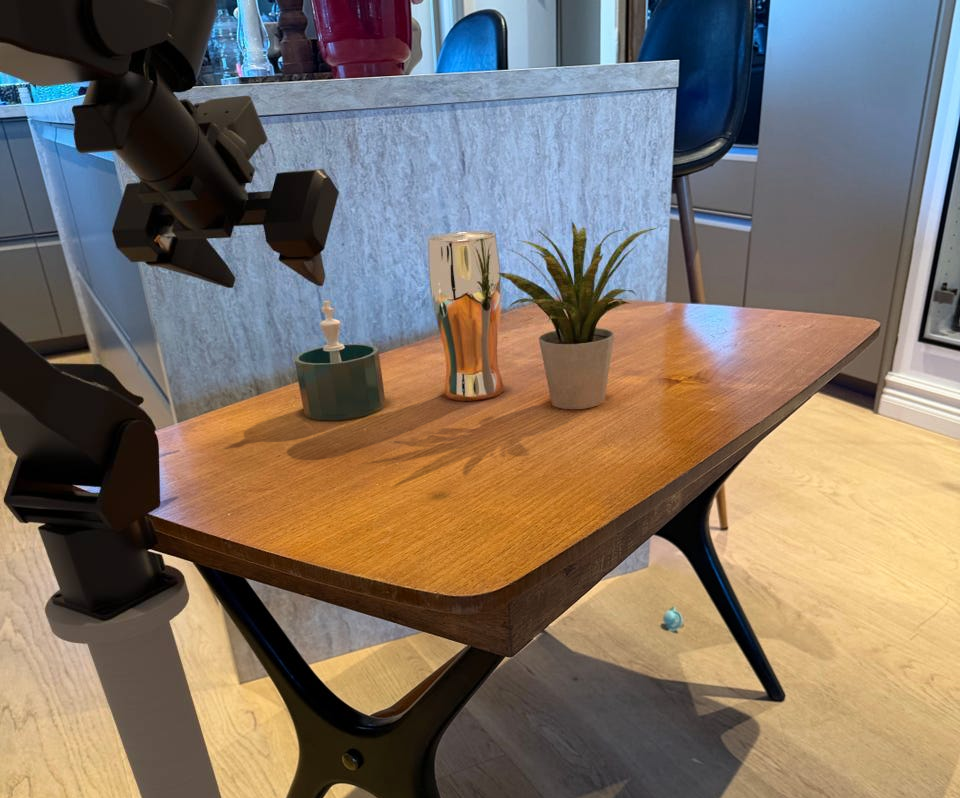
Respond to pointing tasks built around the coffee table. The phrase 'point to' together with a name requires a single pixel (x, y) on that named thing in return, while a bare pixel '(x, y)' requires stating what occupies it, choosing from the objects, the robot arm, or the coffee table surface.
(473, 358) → the beer glass
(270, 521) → the coffee table surface
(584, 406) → the house plant
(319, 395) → the pot
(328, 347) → the chess piece
